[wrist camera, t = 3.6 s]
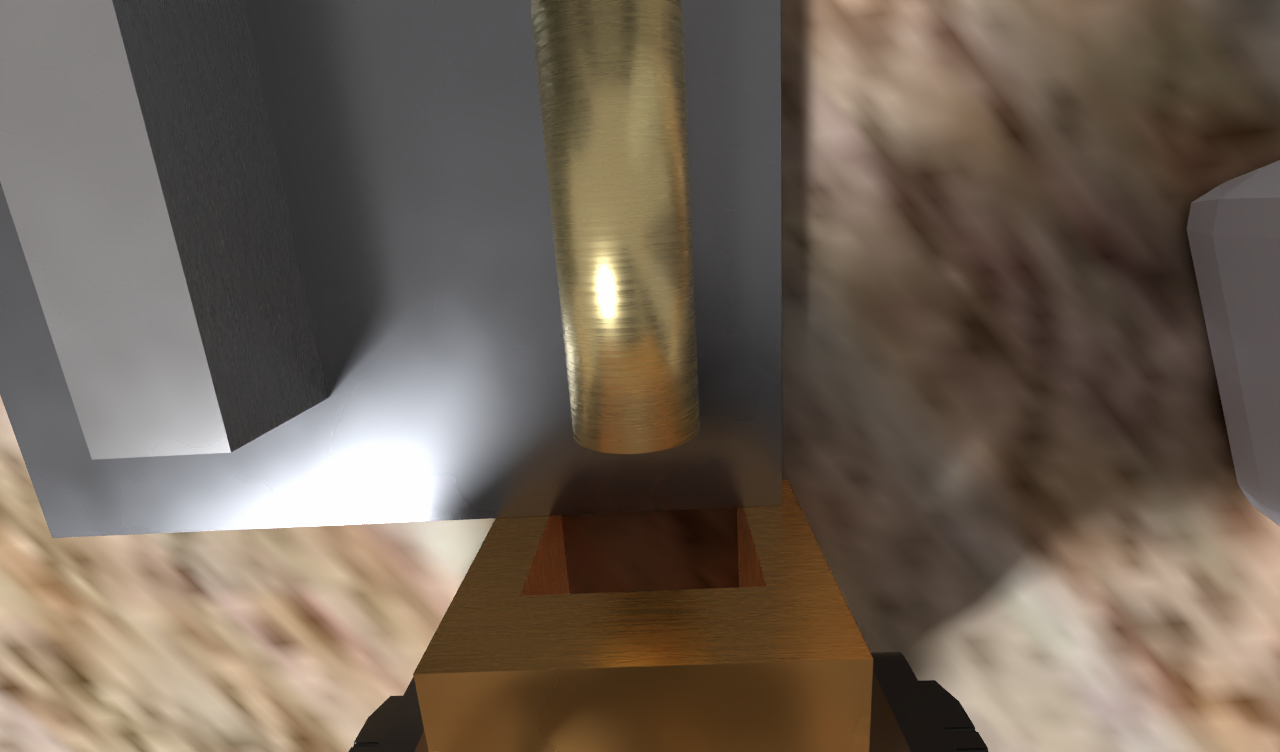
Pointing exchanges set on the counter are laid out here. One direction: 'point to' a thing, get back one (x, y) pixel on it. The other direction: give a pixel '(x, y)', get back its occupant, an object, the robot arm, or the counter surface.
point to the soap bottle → (1244, 320)
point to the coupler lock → (648, 653)
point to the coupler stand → (347, 267)
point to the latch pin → (620, 217)
